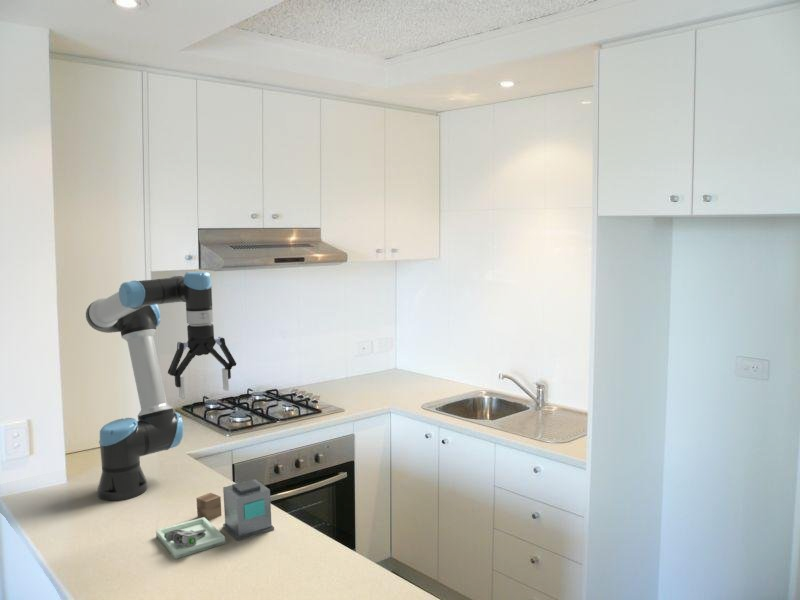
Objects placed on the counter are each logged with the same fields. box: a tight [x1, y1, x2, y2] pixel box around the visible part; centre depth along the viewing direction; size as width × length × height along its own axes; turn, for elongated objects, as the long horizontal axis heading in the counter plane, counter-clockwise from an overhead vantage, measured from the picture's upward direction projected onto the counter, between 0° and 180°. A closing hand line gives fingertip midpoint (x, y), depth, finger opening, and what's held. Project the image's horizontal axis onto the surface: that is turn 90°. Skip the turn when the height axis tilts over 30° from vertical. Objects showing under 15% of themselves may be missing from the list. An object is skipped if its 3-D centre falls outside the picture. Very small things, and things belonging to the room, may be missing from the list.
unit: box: [222, 479, 275, 542], centre depth 204 cm, size 11×11×13 cm
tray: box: [155, 517, 226, 560], centre depth 197 cm, size 16×14×2 cm
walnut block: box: [196, 492, 222, 522], centre depth 213 cm, size 5×5×6 cm
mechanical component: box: [164, 529, 206, 546], centre depth 195 cm, size 3×10×10 cm
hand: (204, 393), depth 213 cm, fingers open, 13 cm apart
